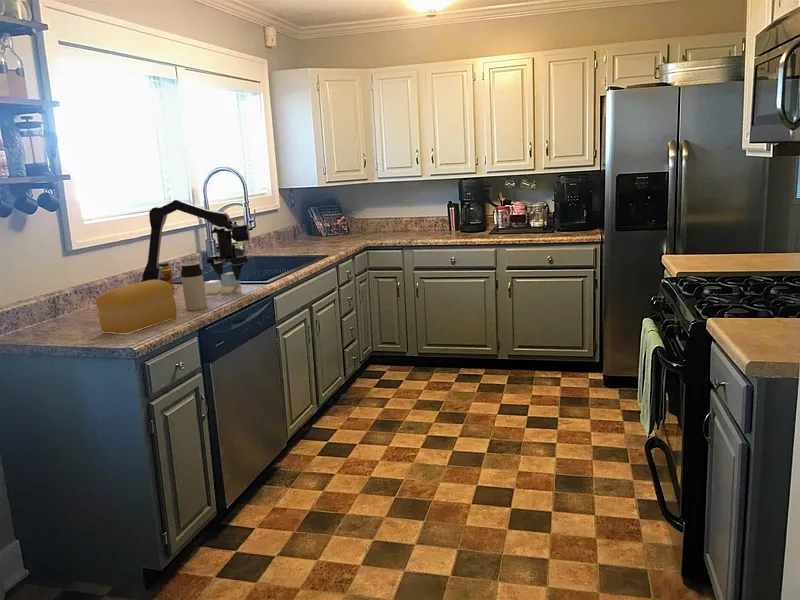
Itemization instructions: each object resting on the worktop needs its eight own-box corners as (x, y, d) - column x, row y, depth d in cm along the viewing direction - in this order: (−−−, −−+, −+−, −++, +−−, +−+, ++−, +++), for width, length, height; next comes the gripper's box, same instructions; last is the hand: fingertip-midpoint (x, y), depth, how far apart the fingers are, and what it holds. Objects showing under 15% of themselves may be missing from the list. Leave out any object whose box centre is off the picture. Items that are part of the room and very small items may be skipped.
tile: (229, 298, 273) (229, 297, 273) (222, 298, 275) (222, 297, 275) (240, 295, 278) (240, 294, 278) (233, 295, 280) (233, 294, 280)
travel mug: (201, 310, 255) (194, 264, 251) (182, 311, 256) (175, 265, 253) (211, 306, 262) (204, 260, 258) (192, 306, 264) (185, 261, 260)
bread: (152, 316, 253) (146, 277, 250) (178, 317, 248) (172, 277, 244) (100, 333, 232) (92, 291, 228) (127, 335, 226) (120, 292, 223)
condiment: (165, 291, 302) (161, 265, 299) (153, 290, 306) (148, 264, 303) (178, 287, 308) (174, 262, 305) (165, 287, 312) (161, 261, 309)
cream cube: (215, 294, 286) (214, 282, 285) (205, 294, 288) (204, 282, 287) (222, 291, 291) (220, 280, 290) (212, 291, 293) (210, 280, 292)
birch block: (231, 296, 278) (230, 287, 277) (221, 295, 281) (220, 286, 281) (242, 293, 283) (240, 284, 282) (232, 292, 286) (230, 283, 285)
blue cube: (230, 286, 278) (229, 274, 277) (222, 286, 281) (220, 274, 280) (239, 284, 282) (237, 272, 281) (231, 283, 285) (229, 272, 284)
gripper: (255, 240, 279) (259, 277, 282) (223, 239, 289) (228, 275, 292) (235, 244, 270) (240, 282, 273) (203, 243, 280) (208, 280, 283)
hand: (229, 279), depth 281 cm, fingers open, 9 cm apart
